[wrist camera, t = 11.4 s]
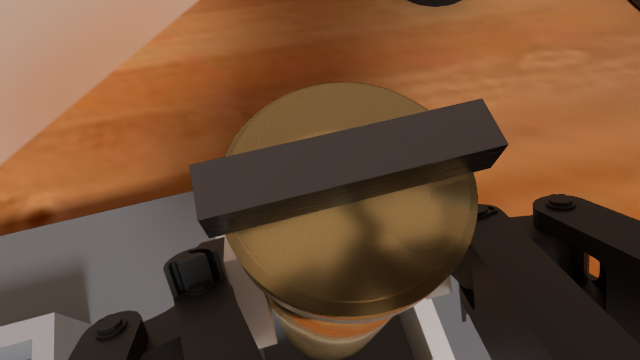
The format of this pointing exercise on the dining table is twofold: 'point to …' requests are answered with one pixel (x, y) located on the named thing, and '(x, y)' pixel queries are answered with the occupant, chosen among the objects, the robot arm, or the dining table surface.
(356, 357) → the board
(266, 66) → the dining table surface
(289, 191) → the amber translucent cylinder
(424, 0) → the caster wheel
